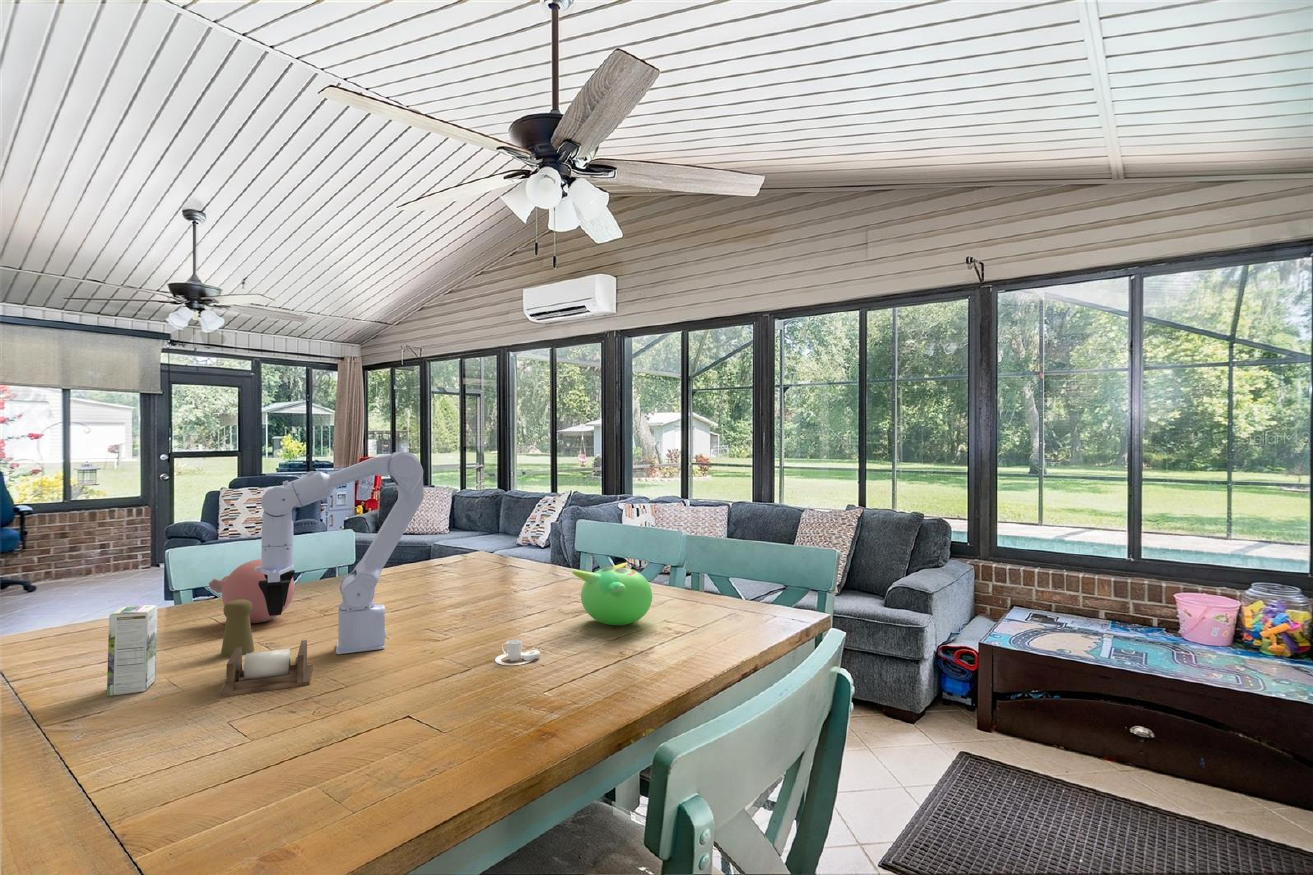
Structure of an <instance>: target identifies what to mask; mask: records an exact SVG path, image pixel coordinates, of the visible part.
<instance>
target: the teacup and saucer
mask: <svg viewBox="0 0 1313 875" xmlns="http://www.w3.org/2000/svg"><path fill="white" fill-rule="evenodd" d="M504 645H506V651H507V653H506V651H505V650H504ZM501 651H502V653H503V654H500V655H498V656H496V657H495V659H494V662H495V663H496V664H498V665H501V666H509V667H511V666H521V665H522V666H523V665H526V664H528V663H531V662H533V661H534V660H536V659H538V658H540V655H541V652H540V651H539V650H537V649H534V650H533V649H532V650H528V651H526V652H523V640H522V639H517V638H514V639H509V640H507V641H506V642H503V643H502V644H501ZM506 657H507V659H508V660H509V661H510V662H518V661H520V659H521V658H522V660H524V661H523V662H518V663H508V662H504V661H503V659H504V658H506ZM501 659H502V660H501Z"/></svg>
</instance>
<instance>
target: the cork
mask: <svg viewBox="0 0 1313 875" xmlns="http://www.w3.org/2000/svg"><path fill="white" fill-rule="evenodd" d="M251 611H252V603H251V602H250V601H249V600H243V599H241V600H233V601H230V602H228V603H226V604H225V606H224V605H223V616H225V618H226V619H225V624H224V625H225V626H224V632H223V639H222V645H221V651H220V656H221V657H223V658H225V657H226V658H227V657H228V658H230V657H231V655H232V654H233V652H234V650H235V648H238V647H242V656H246V654H247V653H254V651H255V647H254V639H253V633H252V625H251V624H252V623H250V618H249V614H250V613H251Z"/></svg>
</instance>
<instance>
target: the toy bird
mask: <svg viewBox="0 0 1313 875" xmlns="http://www.w3.org/2000/svg"><path fill="white" fill-rule="evenodd" d="M627 565H628V562H622V563H619V564H617V565H612V566H607V567H604V568H602V569H601V568H600V569H598V570H596V571H595V572H591V571H586V570H585V571H584V570H576V569H575V570H572V572H571V574H573V575H574V576H576V577H577V578H579V579H581V580H583V581H584V583H583V585H582V588H581V592H580V600H581V604H582V606H583V609H584V610H585V612H586V613H587V614H588V615H589V616H590V617H591V618H592V619H593V620H595V621H597V622H599V623H601V624H605V625H608V626H626V625H630V624H633V623H635V622H638V621H639V620H641V619H642V618H644V616H646V614H647V613H648V611H649V610H650V608H651V606H652V602H653V590H652V588H651V585H650V583H649V582H648V580H647V579H646V577H645V576H643V574H642V573H639V572H638V571H637V570H634V569H632V568H628V567H626V566H627Z"/></svg>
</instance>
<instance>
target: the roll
mask: <svg viewBox="0 0 1313 875" xmlns="http://www.w3.org/2000/svg"><path fill="white" fill-rule="evenodd" d="M291 654H292V653H291V648H284V649H282V648H281V649H275V650H266V651H256V652H251V653H247V654H246V655H244V656H245V657H244V664H243V670H244V680H245V681H248V680H256V679H264V678H271V677H279V676H287V675H289V674H290V665H291V664H292V662H291V660H292V658H291Z"/></svg>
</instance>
